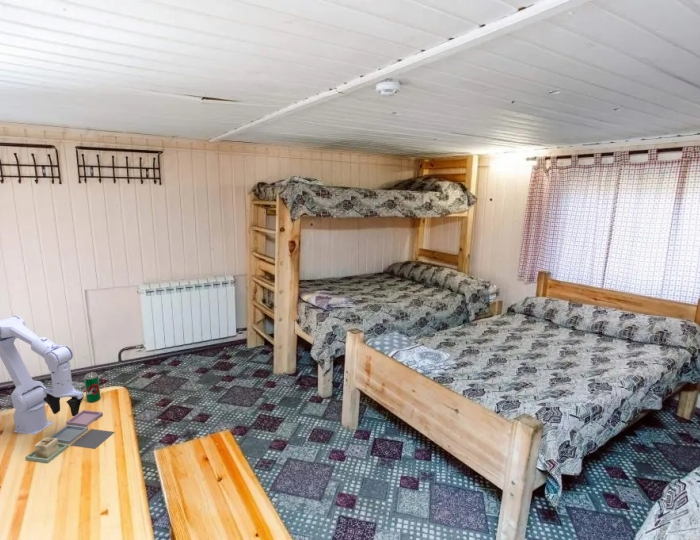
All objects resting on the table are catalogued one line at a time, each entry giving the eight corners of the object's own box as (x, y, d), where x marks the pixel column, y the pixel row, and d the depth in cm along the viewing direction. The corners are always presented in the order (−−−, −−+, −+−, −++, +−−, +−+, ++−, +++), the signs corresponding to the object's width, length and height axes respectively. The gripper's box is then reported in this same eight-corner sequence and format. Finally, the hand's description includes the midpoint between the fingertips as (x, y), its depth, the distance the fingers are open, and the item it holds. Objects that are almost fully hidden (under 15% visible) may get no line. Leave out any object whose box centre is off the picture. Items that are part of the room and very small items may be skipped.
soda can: (103, 397, 174) (100, 372, 172) (94, 403, 169) (92, 377, 167) (92, 396, 175) (89, 371, 172) (83, 402, 170) (81, 376, 167)
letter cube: (36, 456, 136) (34, 444, 135) (47, 448, 140) (46, 436, 139) (47, 458, 135) (46, 446, 134) (59, 449, 140) (57, 438, 139)
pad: (70, 446, 142) (69, 445, 142) (91, 429, 152) (91, 428, 152) (95, 449, 141) (95, 448, 141) (115, 432, 151) (115, 431, 150)
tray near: (25, 460, 134) (25, 457, 134) (47, 445, 142) (47, 441, 142) (48, 464, 133) (47, 460, 133) (68, 447, 141) (68, 444, 141)
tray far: (66, 425, 154) (66, 421, 154) (83, 413, 162) (83, 409, 162) (86, 427, 153) (86, 424, 152) (102, 415, 161) (102, 412, 161)
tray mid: (48, 442, 144) (48, 438, 144) (68, 428, 152) (67, 424, 152) (69, 444, 143) (69, 441, 143) (88, 430, 151) (87, 427, 151)
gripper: (88, 376, 146) (92, 409, 149) (53, 372, 147) (57, 405, 150) (73, 386, 139) (77, 420, 142) (36, 381, 141) (41, 416, 143)
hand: (66, 413), depth 146 cm, fingers open, 7 cm apart
